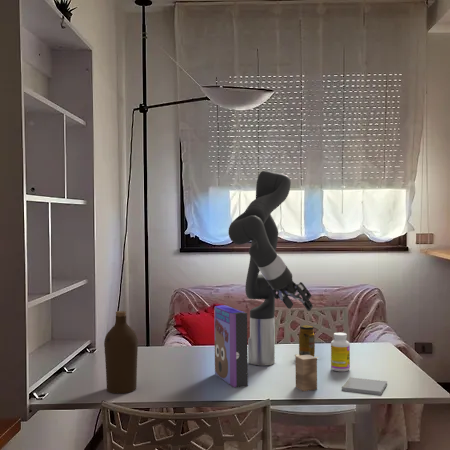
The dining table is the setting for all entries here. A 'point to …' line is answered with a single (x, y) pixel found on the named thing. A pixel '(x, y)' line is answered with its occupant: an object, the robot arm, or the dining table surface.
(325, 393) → the dining table surface
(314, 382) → the walnut block
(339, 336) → the supplement bottle
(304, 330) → the condiment
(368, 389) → the slate tile
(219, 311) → the cereal box
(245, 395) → the dining table surface
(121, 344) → the olive oil
